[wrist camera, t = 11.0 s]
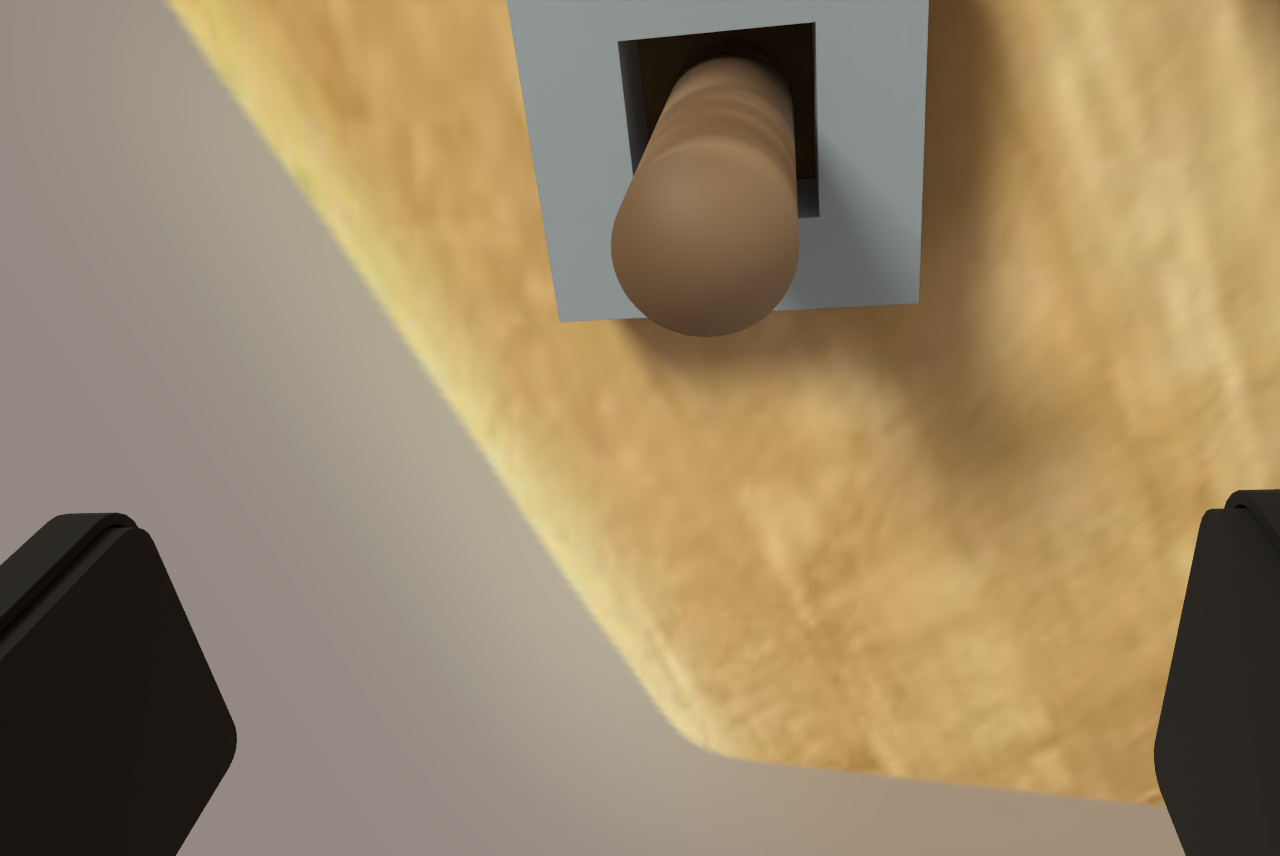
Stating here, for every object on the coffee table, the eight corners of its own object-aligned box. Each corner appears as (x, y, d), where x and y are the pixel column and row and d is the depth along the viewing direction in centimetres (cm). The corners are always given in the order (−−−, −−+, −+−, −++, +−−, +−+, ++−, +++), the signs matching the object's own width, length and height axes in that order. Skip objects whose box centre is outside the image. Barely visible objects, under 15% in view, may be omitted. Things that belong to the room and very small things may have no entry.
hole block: (914, -120, 25) (932, -116, 22) (905, 257, 30) (918, 303, 27) (528, -75, 26) (496, -64, 23) (580, 276, 31) (559, 322, 28)
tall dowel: (790, 33, 27) (795, 149, 17) (794, 157, 29) (802, 331, 18) (667, 45, 27) (599, 164, 17) (678, 166, 29) (622, 340, 19)
